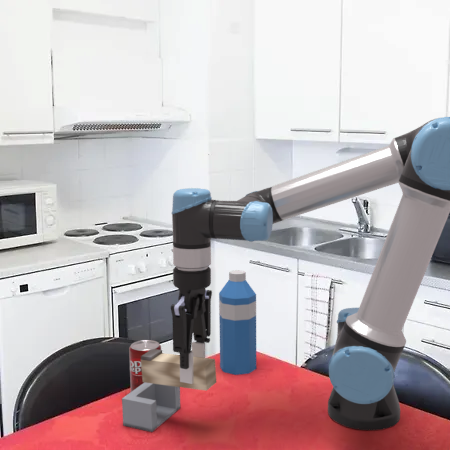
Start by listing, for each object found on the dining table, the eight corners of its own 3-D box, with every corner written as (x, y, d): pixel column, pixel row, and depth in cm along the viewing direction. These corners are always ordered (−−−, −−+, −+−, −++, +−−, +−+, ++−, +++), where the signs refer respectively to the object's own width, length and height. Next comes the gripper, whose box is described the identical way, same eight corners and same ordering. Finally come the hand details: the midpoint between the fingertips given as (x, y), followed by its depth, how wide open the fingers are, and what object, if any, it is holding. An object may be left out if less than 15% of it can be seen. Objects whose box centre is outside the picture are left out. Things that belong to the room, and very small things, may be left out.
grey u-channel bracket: (180, 407, 142) (179, 382, 141) (152, 432, 131) (151, 404, 130) (153, 402, 145) (152, 377, 144) (123, 425, 134) (122, 398, 133)
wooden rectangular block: (216, 382, 132) (214, 355, 132) (206, 390, 128) (204, 363, 127) (154, 374, 139) (152, 348, 138) (142, 382, 135) (140, 356, 134)
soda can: (157, 402, 145) (155, 351, 143) (126, 400, 146) (124, 349, 144) (166, 389, 152) (165, 340, 150) (137, 386, 153) (135, 338, 151)
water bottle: (216, 373, 160) (215, 276, 156) (223, 359, 169) (221, 267, 165) (254, 375, 159) (253, 277, 154) (258, 361, 168) (258, 268, 164)
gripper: (195, 256, 137) (196, 359, 141) (152, 274, 122) (154, 390, 126) (227, 259, 134) (227, 365, 138) (187, 278, 118) (188, 397, 122)
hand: (192, 377), depth 132 cm, fingers closed on wooden rectangular block, 4 cm apart
